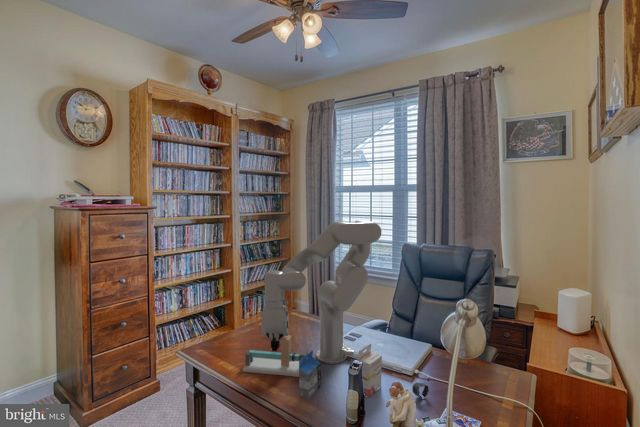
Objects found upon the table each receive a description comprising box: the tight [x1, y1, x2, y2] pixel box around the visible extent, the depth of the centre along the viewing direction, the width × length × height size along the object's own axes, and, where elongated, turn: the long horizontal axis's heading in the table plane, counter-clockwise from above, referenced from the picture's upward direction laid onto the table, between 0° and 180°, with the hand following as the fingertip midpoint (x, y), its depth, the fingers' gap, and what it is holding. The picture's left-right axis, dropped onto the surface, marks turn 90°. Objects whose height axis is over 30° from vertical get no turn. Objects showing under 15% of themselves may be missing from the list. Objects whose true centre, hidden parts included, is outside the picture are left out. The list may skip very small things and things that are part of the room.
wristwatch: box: [412, 382, 430, 399], centre depth 108 cm, size 3×5×5 cm, turn 103°
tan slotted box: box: [280, 334, 293, 366], centre depth 126 cm, size 3×4×10 cm
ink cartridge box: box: [357, 343, 383, 398], centre depth 113 cm, size 9×5×15 cm, turn 141°
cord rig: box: [242, 349, 309, 377], centre depth 127 cm, size 24×9×7 cm, turn 81°
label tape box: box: [298, 350, 322, 400], centre depth 112 cm, size 9×4×12 cm, turn 151°
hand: (275, 349), depth 127 cm, fingers closed
